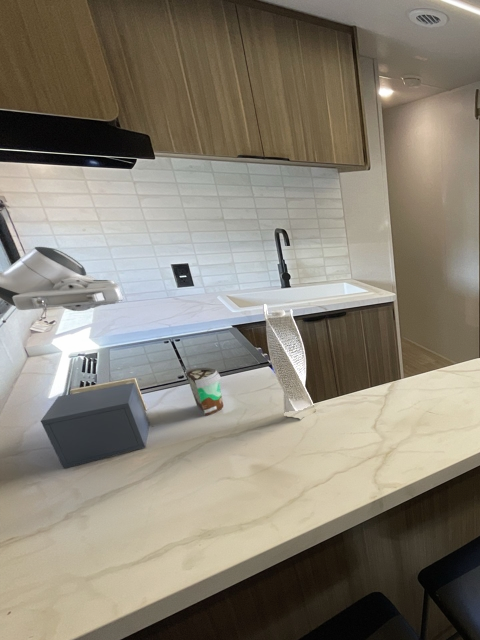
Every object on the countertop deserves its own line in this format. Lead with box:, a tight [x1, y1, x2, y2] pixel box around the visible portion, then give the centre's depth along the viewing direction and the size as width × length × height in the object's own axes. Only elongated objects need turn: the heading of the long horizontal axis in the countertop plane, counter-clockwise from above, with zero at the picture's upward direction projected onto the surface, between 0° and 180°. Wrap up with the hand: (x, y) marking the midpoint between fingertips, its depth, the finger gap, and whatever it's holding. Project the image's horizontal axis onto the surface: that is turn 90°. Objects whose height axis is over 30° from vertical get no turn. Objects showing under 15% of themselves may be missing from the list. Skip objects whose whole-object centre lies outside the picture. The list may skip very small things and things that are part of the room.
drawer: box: [69, 377, 148, 412], centre depth 96 cm, size 18×12×9 cm, turn 37°
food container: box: [184, 367, 224, 417], centre depth 105 cm, size 12×6×10 cm, turn 46°
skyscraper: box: [262, 303, 315, 414], centre depth 97 cm, size 8×8×28 cm
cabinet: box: [40, 383, 150, 469], centre depth 88 cm, size 15×13×11 cm
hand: (65, 301), depth 101 cm, fingers open, 8 cm apart
